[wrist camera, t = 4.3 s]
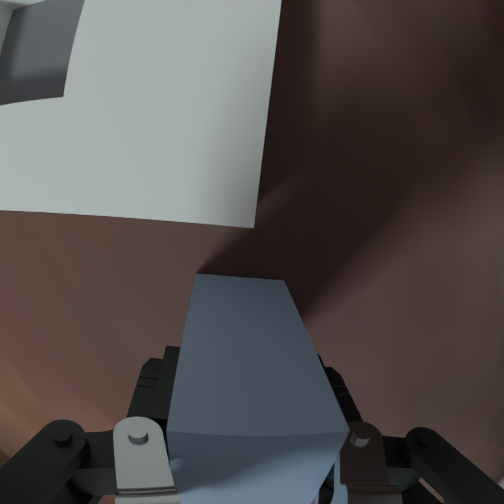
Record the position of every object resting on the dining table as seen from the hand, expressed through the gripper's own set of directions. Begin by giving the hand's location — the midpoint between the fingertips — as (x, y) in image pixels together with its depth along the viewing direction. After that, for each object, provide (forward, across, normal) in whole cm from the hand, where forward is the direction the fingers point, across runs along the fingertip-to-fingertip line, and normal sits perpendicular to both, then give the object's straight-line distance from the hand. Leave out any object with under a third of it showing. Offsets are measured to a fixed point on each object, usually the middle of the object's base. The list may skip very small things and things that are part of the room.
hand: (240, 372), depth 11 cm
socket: (+4, +10, -12) cm, 16 cm away
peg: (+4, 0, 0) cm, 4 cm away
